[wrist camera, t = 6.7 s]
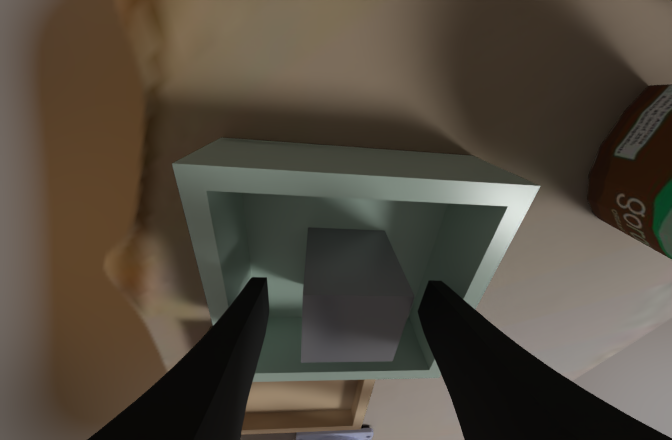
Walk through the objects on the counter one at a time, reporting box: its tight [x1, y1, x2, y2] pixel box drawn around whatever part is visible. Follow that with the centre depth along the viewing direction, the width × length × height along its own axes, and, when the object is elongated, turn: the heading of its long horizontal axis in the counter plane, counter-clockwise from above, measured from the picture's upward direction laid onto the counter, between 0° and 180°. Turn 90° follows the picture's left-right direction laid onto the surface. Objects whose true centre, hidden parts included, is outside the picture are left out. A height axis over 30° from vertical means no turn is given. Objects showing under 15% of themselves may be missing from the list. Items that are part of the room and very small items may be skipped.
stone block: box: [301, 227, 415, 363], centre depth 11 cm, size 4×4×4 cm
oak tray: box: [209, 327, 375, 435], centre depth 19 cm, size 12×12×2 cm
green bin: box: [172, 137, 540, 382], centre depth 12 cm, size 12×12×4 cm
